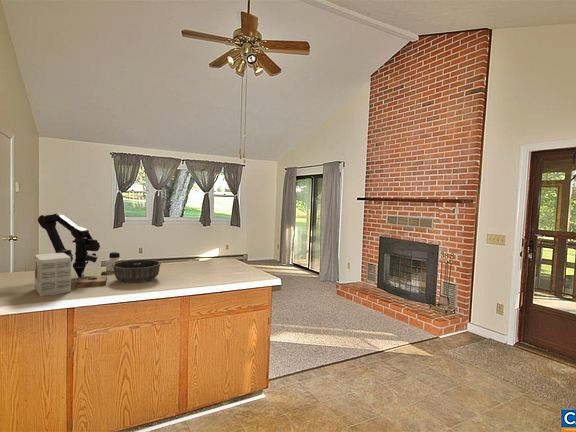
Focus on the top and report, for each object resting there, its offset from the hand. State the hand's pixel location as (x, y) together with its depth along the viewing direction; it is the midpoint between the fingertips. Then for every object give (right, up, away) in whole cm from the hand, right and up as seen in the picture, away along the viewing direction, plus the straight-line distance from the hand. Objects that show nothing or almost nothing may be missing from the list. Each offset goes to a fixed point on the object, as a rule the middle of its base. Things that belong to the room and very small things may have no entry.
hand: (81, 276), depth 200 cm
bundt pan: (+32, -3, +2) cm, 32 cm away
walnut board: (+12, -2, -10) cm, 16 cm away
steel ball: (0, +1, 0) cm, 1 cm away
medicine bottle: (+8, -1, +24) cm, 25 cm away
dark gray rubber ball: (+11, 0, +5) cm, 12 cm away
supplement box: (+1, -3, -26) cm, 26 cm away
